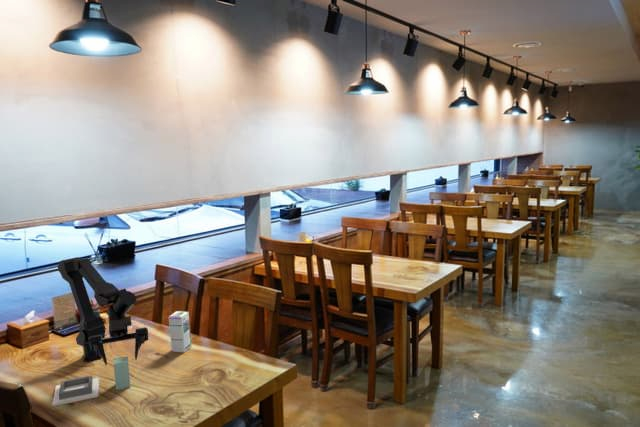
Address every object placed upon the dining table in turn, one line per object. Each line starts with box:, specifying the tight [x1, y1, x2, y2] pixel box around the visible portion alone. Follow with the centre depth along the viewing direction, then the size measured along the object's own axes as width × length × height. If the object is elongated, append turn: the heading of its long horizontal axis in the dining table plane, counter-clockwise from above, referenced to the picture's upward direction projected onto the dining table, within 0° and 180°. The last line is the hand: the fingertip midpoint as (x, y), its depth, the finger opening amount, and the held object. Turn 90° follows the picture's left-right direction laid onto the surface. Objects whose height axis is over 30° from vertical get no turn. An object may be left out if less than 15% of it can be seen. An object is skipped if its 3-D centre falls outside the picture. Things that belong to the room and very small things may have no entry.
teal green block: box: [113, 356, 131, 391], centre depth 165 cm, size 4×4×9 cm
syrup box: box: [168, 310, 192, 353], centre depth 193 cm, size 6×6×14 cm
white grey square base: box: [52, 374, 100, 407], centre depth 162 cm, size 13×13×3 cm
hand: (121, 362), depth 165 cm, fingers open, 9 cm apart
